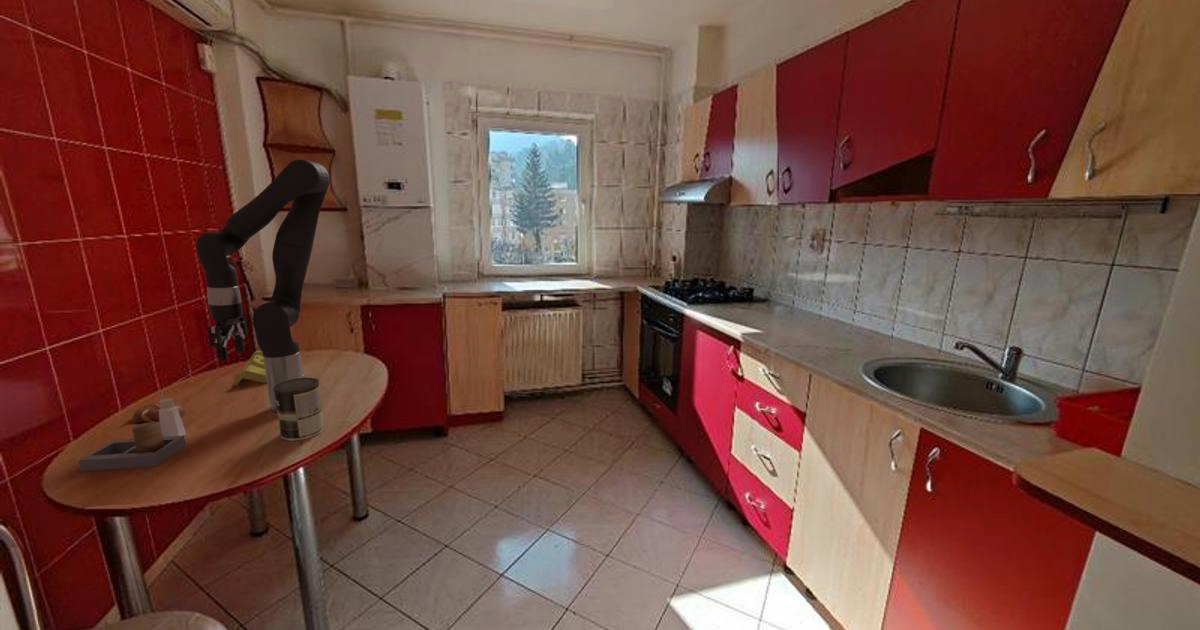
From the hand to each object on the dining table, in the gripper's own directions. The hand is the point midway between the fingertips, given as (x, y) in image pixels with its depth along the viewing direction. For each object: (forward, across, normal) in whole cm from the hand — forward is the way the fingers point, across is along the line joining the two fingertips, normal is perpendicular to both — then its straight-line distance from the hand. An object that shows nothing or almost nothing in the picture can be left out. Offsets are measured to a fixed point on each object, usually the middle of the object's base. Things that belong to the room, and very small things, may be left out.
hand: (231, 355), depth 137 cm
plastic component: (+18, +30, +9) cm, 36 cm away
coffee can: (+16, -19, -26) cm, 36 cm away
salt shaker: (+18, -18, +6) cm, 26 cm away
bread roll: (+18, -2, +19) cm, 27 cm away
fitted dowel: (+16, -29, +4) cm, 34 cm away
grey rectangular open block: (+17, -29, +7) cm, 35 cm away
